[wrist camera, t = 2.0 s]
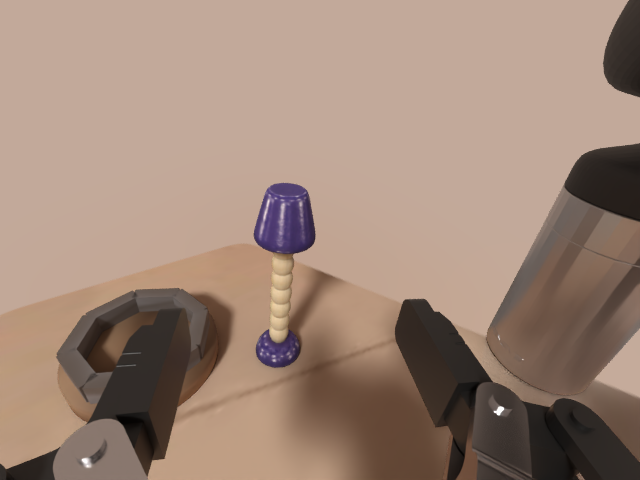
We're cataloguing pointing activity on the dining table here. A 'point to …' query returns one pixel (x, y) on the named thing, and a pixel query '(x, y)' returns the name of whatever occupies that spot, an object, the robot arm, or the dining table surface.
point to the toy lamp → (282, 264)
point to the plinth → (112, 335)
